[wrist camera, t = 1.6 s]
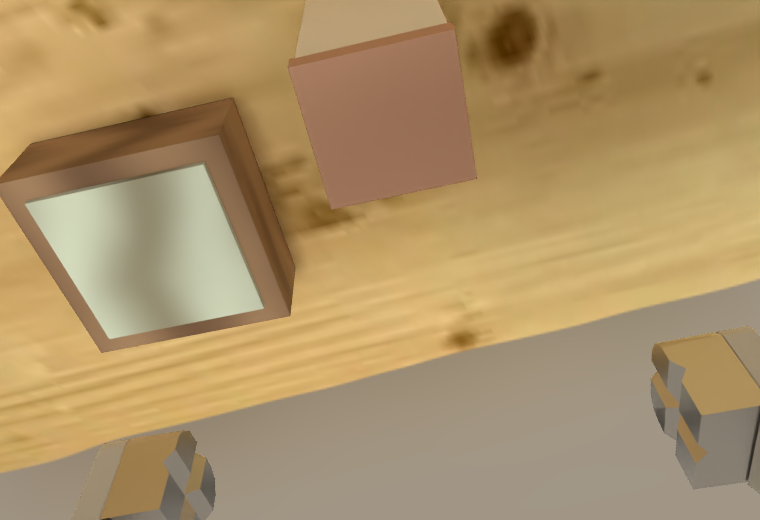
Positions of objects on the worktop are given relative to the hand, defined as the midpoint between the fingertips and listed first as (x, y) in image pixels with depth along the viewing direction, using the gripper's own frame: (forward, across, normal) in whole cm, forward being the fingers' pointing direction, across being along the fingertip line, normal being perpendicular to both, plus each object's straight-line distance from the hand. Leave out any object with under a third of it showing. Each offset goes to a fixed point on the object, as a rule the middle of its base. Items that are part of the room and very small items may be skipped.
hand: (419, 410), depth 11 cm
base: (+21, +12, +6) cm, 25 cm away
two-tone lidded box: (+21, 0, 0) cm, 21 cm away
